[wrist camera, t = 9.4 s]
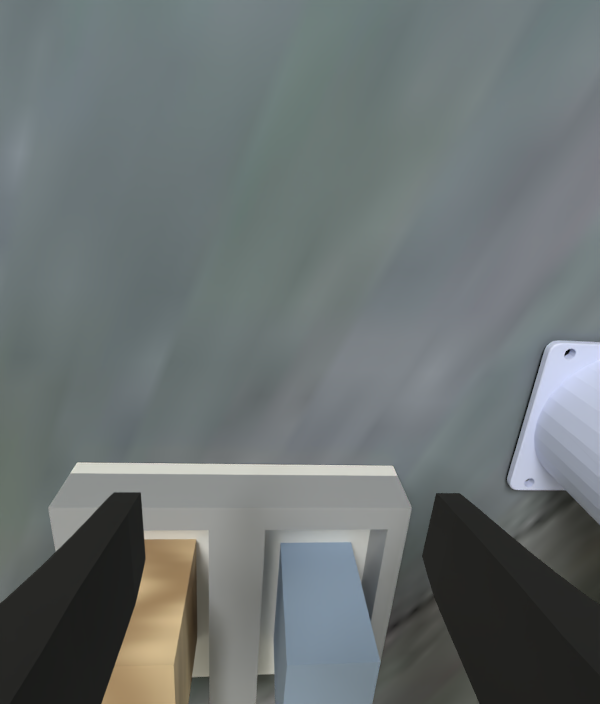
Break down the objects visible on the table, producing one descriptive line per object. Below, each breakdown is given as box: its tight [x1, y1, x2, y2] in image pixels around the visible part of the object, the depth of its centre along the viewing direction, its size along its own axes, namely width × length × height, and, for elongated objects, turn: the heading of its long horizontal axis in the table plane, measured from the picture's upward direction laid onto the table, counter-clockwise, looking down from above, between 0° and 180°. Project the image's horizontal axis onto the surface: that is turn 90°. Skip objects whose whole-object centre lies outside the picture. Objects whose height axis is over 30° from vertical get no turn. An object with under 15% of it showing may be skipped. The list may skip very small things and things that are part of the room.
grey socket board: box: [48, 463, 412, 704], centre depth 22 cm, size 15×14×3 cm
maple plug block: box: [102, 539, 197, 704], centre depth 20 cm, size 4×7×6 cm, turn 176°
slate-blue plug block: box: [273, 542, 380, 704], centre depth 21 cm, size 4×7×6 cm, turn 176°
